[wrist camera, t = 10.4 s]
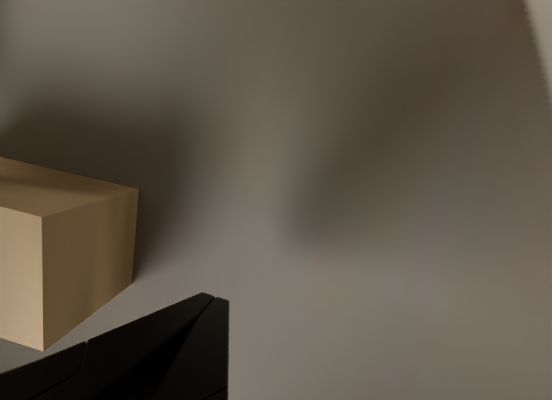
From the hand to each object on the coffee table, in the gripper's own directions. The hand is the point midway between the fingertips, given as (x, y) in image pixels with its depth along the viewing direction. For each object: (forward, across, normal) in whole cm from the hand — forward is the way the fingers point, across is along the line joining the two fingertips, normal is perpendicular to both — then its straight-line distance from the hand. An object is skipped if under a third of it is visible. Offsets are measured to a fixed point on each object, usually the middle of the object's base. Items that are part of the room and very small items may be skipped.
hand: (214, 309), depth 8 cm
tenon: (+3, +8, 0) cm, 8 cm away
